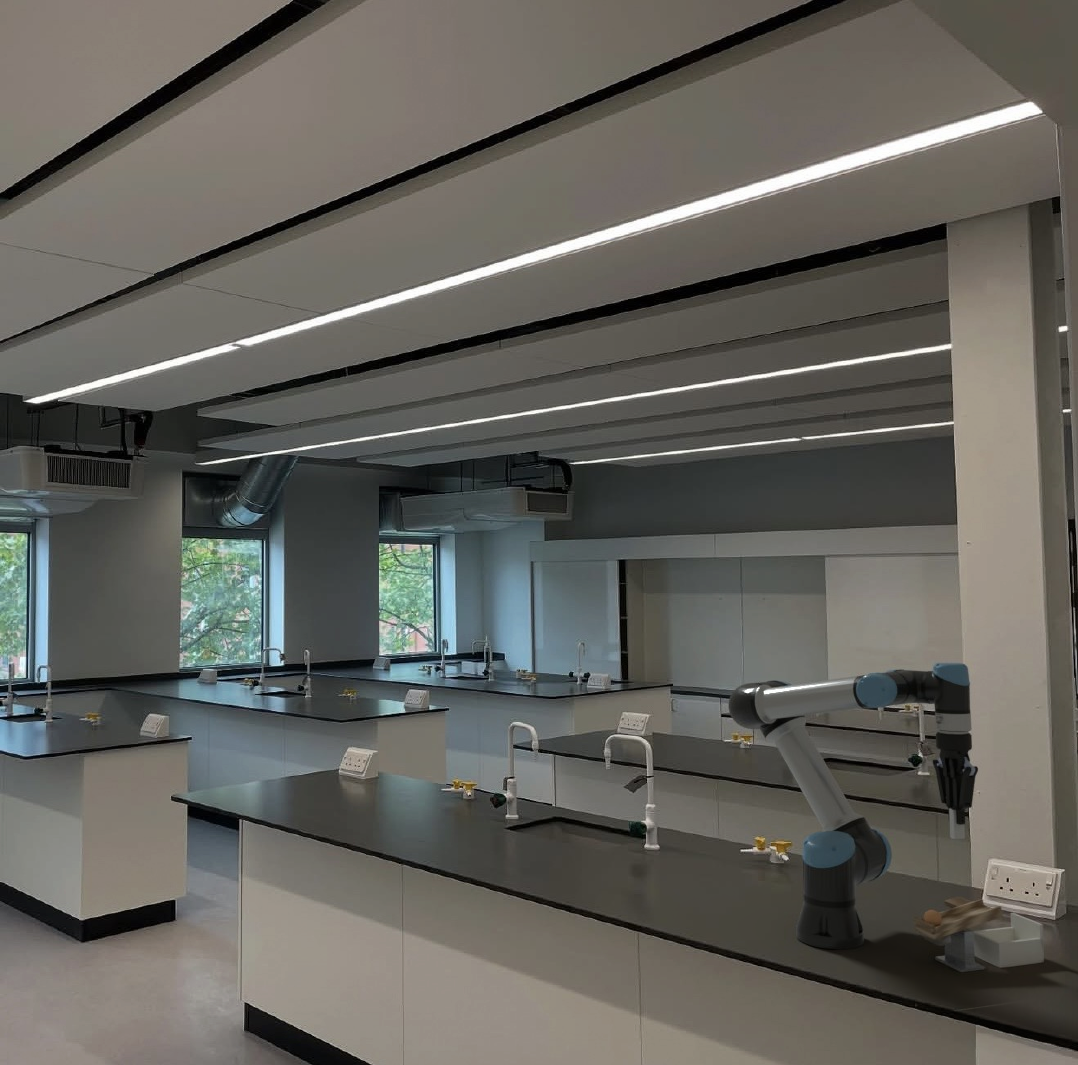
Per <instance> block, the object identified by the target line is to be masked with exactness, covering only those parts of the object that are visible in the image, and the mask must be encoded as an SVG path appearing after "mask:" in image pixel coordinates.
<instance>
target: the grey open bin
mask: <svg viewBox="0 0 1078 1065" xmlns="http://www.w3.org/2000/svg"><path fill="white" fill-rule="evenodd" d="M973 931H974V953H975V957H976V958H978V959H980V960H983V961H984V962H987V963H989V964H990V965H992V966H995V967H997V968H1000V969H1003V968H1010V967H1017V966H1018V967H1019V966H1026V965H1033V964H1034V965H1035V964H1041V963H1045V955H1044V954H1045V953H1044V951H1045V950H1044V924H1043V923H1040V922H1039V921H1035V920H1033V919H1031V918H1028V917H1026V916H1025V917H1024V916H1022V915H1019V914H1017V913H1015V912H1010V926H1007V927H997V928H988V929H987V928H986V929H980V930H979V929H978V930H973Z"/></svg>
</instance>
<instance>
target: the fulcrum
mask: <svg viewBox="0 0 1078 1065" xmlns="http://www.w3.org/2000/svg"><path fill="white" fill-rule="evenodd" d="M974 931H975V930H972V929H971V928H967V929H964V930H961V931H958V932H955V933H952V934H950V936H951V943H948V944H945V945H944V955H938V956H935V961H938V962H940V963H942V964H944V965H945V966H948V967H950V968H952V969H954V970H955V971H958V972H960V973H965V972H975V971H981V970H982V971H983V970H985V965H982V964H980V963H978V962H976V961H975V959H976V958H975V957H976V956H975V953H974Z"/></svg>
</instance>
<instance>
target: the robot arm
mask: <svg viewBox="0 0 1078 1065" xmlns="http://www.w3.org/2000/svg"><path fill="white" fill-rule="evenodd" d="M970 686H971V682H970V674H969V667H968V666H967V664H965V663H961V662H935V663H934V664H933V667H932V670H912V669H910V670H907V669H890V670H887V671H885V672H873V673H868V674H864V675H855V676H847V677H840V678H833V679H827V680H818V681H811V682H804V683H797V684H791V683H789V682H788V681H783V680H782V681H781V680H775V679H774V680H768V681H762V682H760V681H759V682H750V683H744V684H742V685H741V684H740V685H739V686H738V687H736V688H735V689H734V690H733V692H732V693H731V694H730V696H729V699H728V711H729V714H730V717H731V718H732V720H733V721H734V722H735V724H737V725H738V726H740V727H742V728H744V729H748V730H758V729H759V730H760V731H761V734H762V735H763V736H764V738H765V741H767V742H771V743H773V744H774V745H775V746H776V747H777V750H778V751H779V753H780V755H781V756H782V758H783V760H784V762H785V763H786V766H788V769H789V771H790V773H791V775H792V776H793V778H794V780H795V782H796V784H797V785H798V786H799V788H800V790H801V792H802V794H803V796H804V797H805V799H806V800H807V803H808V805H809V806H810V808H811V810H812V811H813V813H814V815H815V817H816V818H817V820H818V822H819V824H820V825H821V828H822V829H823V831H817V832H813V833H811V834H809V835H808V836H805V838H804V840H803V842H802V843H803V844H802V852H801V857H802V882H803V883H802V886H803V887H802V890H803V891H802V892H803V896H802V897H803V903H802V907H801V910H800V913H799V917H798V920H797V923H796V925H795V929H796V930H795V936H796V938H797V940H799V941H800V942H802V943H804V944H807V945H808V946H811V947H812V946H813V947H816V948H821V949H829V950H849V949H856V948H859V947H861V946H862V945H863V944H864V943H865V932H864V927H863V925H862V922H861V919H860V916H859V913H858V909H857V906H856V886H860V885H861V884H864V883H867V882H873V881H875V880H877V879H878V878H880V877H881V876H883V875H885V874H886V872H887V871H888V870H889V868H890V867H891V862H892V859H893V858H892V857H893V854H892V853H893V852H892V848H891V844H890V842H889V840H888V838H887V837H886V836H885V835H884V833H883V832H881V831H880V830H877V829H876V828H873V827H871V826H870V825H869V823H868V821H867V819H866V817H865V815H861V814H859V813H857V812H855V811H854V809H853V808H852V806H851V804H850V803H849V801H848V800H847V798H846V796H845V794H844V793H843V791H842V790H841V787H840V785H839V784H838V782H837V781H836V779H835V776H833V774H832V772H831V770H830V769H829V767H828V765H827V763H826V762H825V760H824V758H823V757H822V754H821V753H820V751H819V750H818V748H817V746H816V745H815V743H814V741H813V739H812V738H811V736H810V734H809V733H808V731H807V730H806V723H807V717H806V716H811V715H822V714H828V713H829V714H830V713H836V712H846V711H847V712H848V711H854V710H855V711H856V710H863V709H873V708H874V709H879V708H886V707H891V706H897V705H905V704H928V705H934V713H935V714H934V716H935V729H936V731H937V732H936V733H935V746H936V749H938V750H940V753H939V757H938V758H937V759H932V761H931V762H932V764H933V768H934V770H935V775H936V780H937V786H938V791H939V796H940V801H941V803H942V804H945V806H946V807H947V808H948V809H947V810H948V821H949V837H950V839H952V840H963V839H966V832H965V831H966V830H965V824H966V810H967V809H970V808H972V806H973V799H974V798H973V797H974V793H975V792H974V791H975V782H976V776H977V774H978V772H979V768H978V766H976V765H973V764H972V763H971V762H970V761H971V759H970V755H969V751H971V750H972V749H973V743H972V742H973V738H972V734H971V733H970V732H971V731H972V730H973V729H972V714H971V687H970Z"/></svg>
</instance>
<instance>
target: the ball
mask: <svg viewBox="0 0 1078 1065" xmlns="http://www.w3.org/2000/svg"><path fill="white" fill-rule="evenodd" d="M922 918H923V919H924V921H927V922H929V923H931V924H933V925H935V927H937V926H939V925H940V924H941V916H940V914H939V912H938V911H937V910H935V909H929V910H927V911H925V912H924V915H923V917H922Z"/></svg>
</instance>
